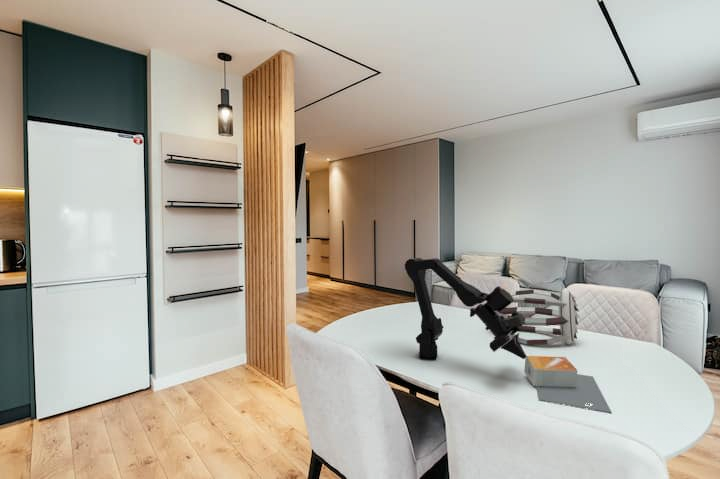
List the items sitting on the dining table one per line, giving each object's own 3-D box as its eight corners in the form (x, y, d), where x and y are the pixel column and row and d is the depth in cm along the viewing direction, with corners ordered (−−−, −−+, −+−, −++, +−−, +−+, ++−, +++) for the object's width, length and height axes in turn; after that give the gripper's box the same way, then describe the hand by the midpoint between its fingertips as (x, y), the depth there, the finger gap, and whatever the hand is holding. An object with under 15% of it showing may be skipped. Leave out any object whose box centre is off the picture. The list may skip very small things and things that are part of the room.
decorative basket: (578, 355, 135) (486, 343, 156) (583, 337, 157) (502, 329, 178) (575, 293, 135) (483, 289, 156) (580, 284, 157) (499, 282, 178)
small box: (525, 355, 118) (565, 356, 117) (523, 372, 119) (563, 373, 118) (535, 368, 110) (578, 370, 109) (533, 386, 111) (575, 388, 110)
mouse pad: (538, 400, 103) (538, 399, 103) (533, 368, 125) (533, 367, 125) (611, 413, 96) (611, 412, 96) (592, 377, 118) (592, 376, 118)
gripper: (500, 311, 109) (538, 353, 103) (516, 300, 124) (550, 336, 117) (475, 331, 114) (510, 372, 108) (493, 318, 129) (525, 354, 123)
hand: (525, 358), depth 114 cm, fingers closed
